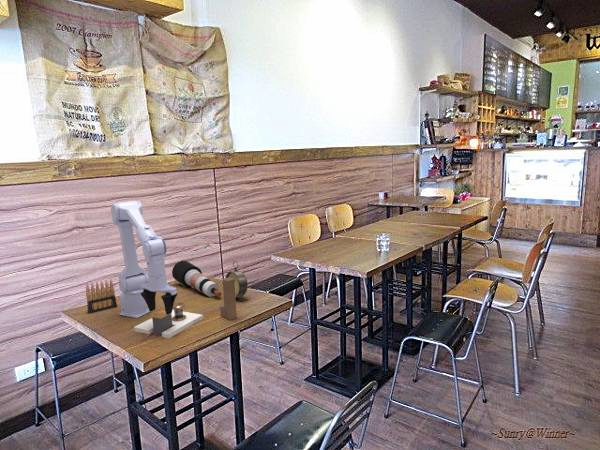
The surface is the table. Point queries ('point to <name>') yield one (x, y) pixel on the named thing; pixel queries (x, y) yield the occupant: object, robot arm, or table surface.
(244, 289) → the alarm clock
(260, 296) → the table surface
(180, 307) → the bronze knob
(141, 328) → the notched board
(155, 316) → the grey and orange block
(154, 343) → the table surface
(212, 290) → the cable
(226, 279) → the wooden block
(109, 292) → the ammunition clip
